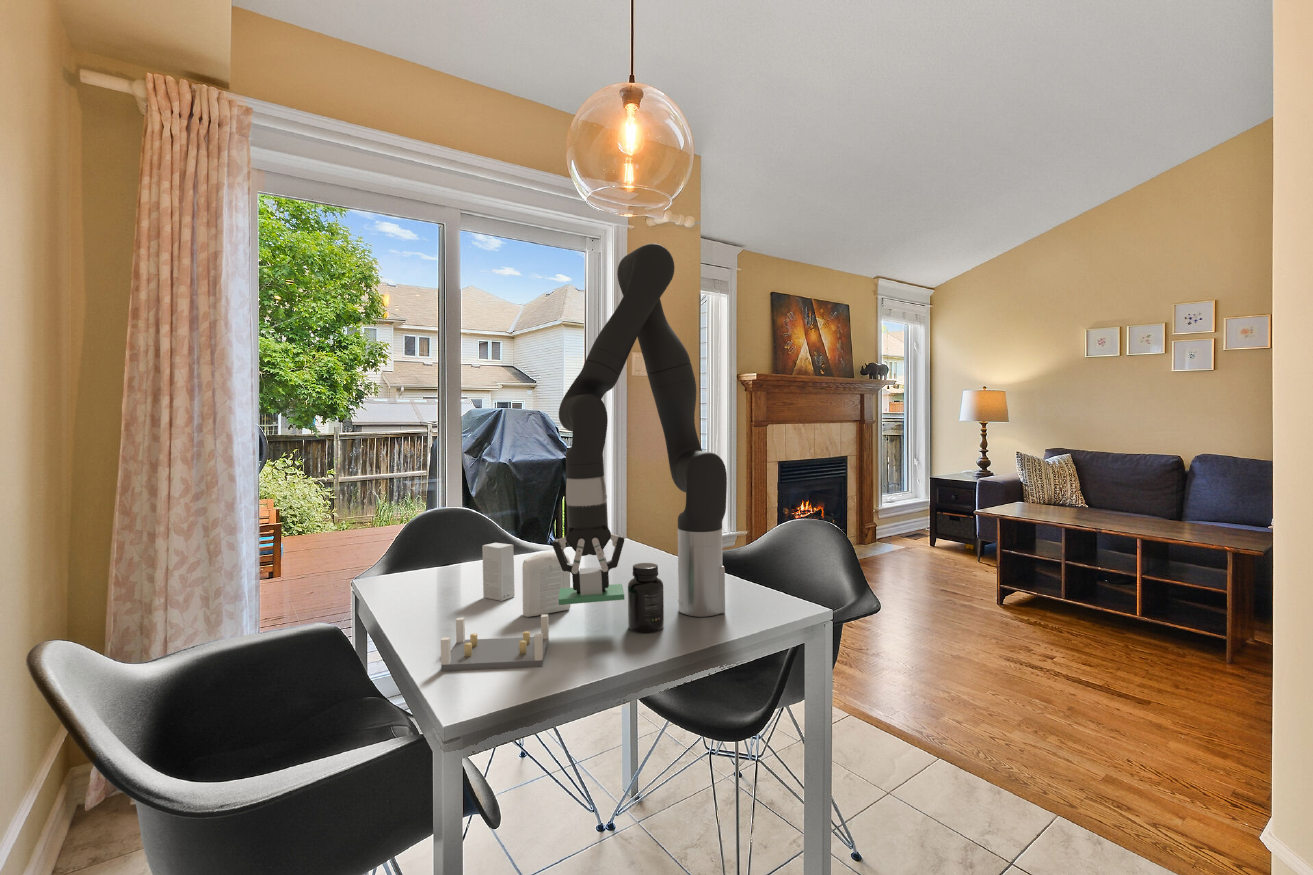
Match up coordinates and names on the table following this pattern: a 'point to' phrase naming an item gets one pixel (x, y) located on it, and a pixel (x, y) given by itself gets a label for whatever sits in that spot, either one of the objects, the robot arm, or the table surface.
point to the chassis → (494, 650)
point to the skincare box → (498, 571)
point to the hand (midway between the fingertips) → (591, 590)
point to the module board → (591, 598)
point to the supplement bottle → (645, 599)
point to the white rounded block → (543, 584)
